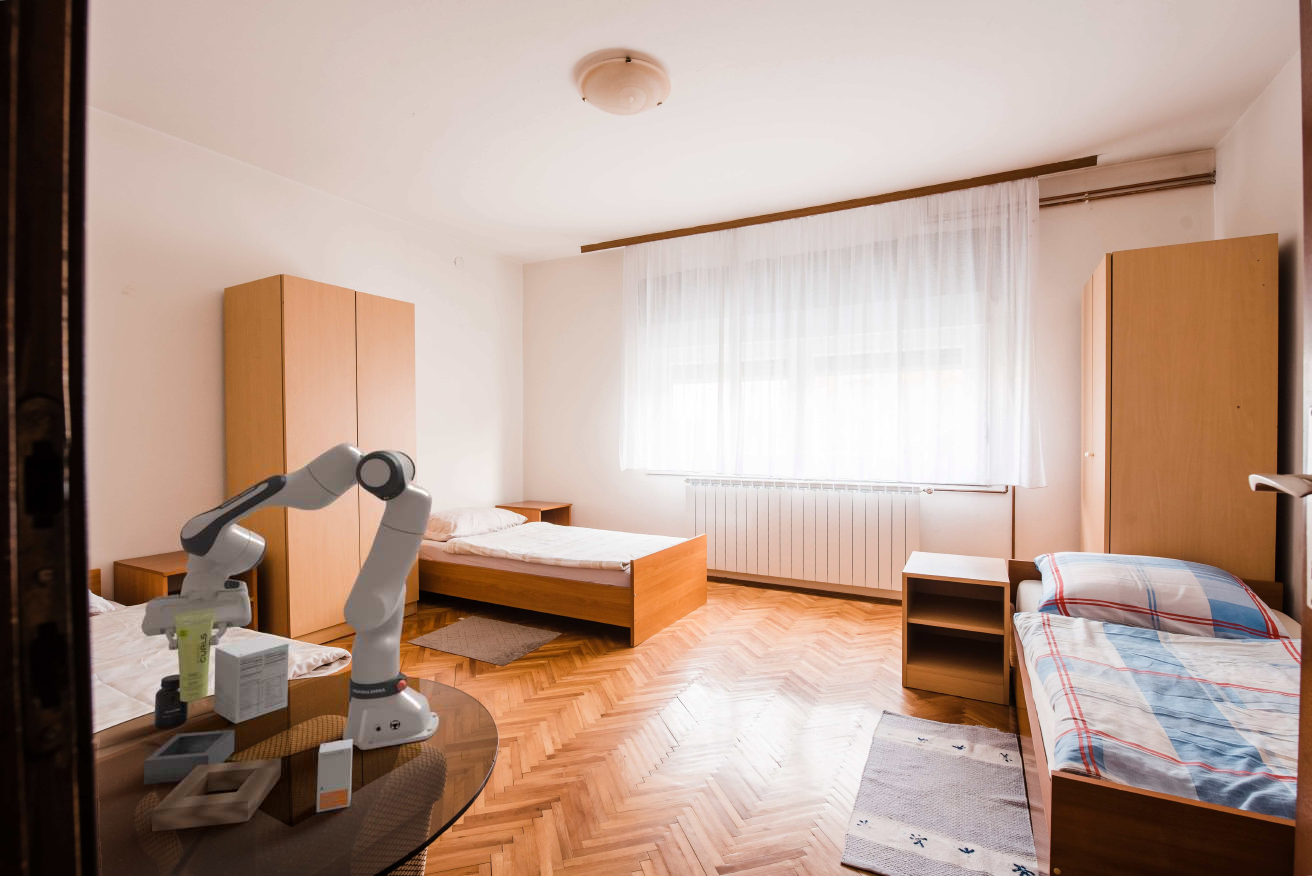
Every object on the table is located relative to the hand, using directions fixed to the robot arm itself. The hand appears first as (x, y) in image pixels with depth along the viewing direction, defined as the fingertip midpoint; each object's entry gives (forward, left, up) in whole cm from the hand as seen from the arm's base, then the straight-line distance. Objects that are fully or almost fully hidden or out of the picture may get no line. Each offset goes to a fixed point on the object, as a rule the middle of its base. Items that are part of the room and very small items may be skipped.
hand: (193, 646), depth 135 cm
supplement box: (0, -31, -27) cm, 41 cm away
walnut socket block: (-13, +15, -27) cm, 34 cm away
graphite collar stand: (0, -1, -27) cm, 27 cm away
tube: (0, -1, -12) cm, 12 cm away
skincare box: (-35, +21, -27) cm, 49 cm away
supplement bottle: (+16, -25, -27) cm, 40 cm away
